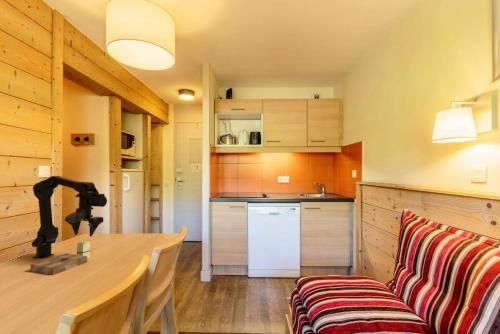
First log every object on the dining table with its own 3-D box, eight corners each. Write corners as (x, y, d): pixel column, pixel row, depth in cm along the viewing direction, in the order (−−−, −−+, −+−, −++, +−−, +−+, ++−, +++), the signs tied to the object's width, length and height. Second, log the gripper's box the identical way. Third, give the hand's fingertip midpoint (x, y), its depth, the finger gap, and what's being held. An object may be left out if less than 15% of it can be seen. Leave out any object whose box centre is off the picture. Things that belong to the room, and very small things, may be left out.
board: (30, 271, 108) (30, 264, 108) (66, 259, 123) (66, 253, 123) (53, 275, 104) (53, 268, 104) (87, 262, 119) (87, 256, 119)
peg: (76, 258, 124) (77, 243, 125) (83, 256, 128) (84, 241, 128) (82, 259, 123) (83, 243, 124) (89, 256, 127) (90, 241, 127)
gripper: (55, 206, 120) (53, 237, 119) (87, 209, 116) (85, 241, 115) (75, 204, 131) (73, 232, 130) (105, 206, 127) (103, 235, 126)
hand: (83, 235), depth 125 cm, fingers open, 9 cm apart
